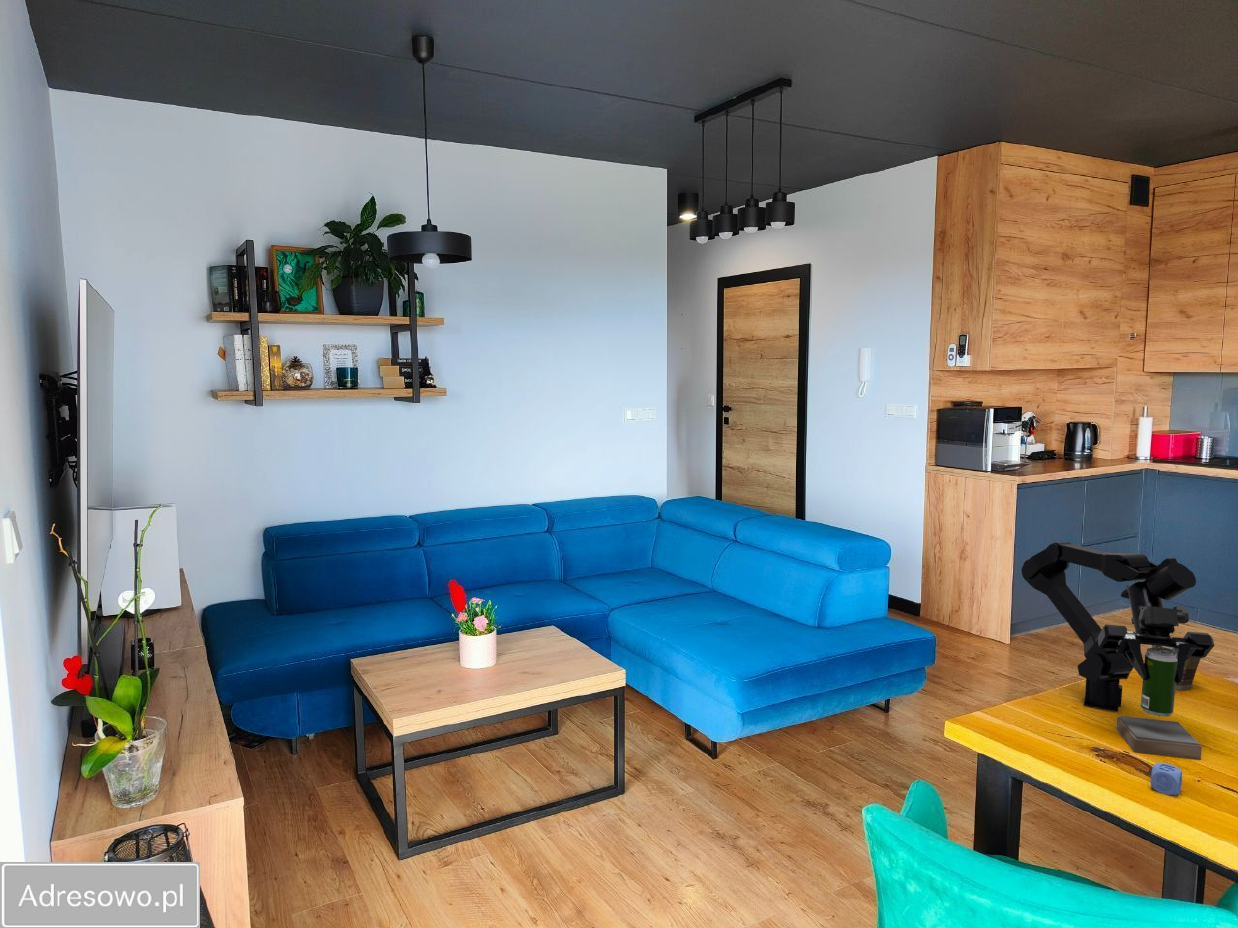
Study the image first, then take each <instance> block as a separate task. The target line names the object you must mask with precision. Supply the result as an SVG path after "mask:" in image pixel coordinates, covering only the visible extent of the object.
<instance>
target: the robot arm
mask: <svg viewBox="0 0 1238 928" xmlns="http://www.w3.org/2000/svg"><path fill="white" fill-rule="evenodd" d="M1070 564H1075V565H1077V566H1082V567H1086V568H1089V569H1093V570H1097V571H1099V572H1101V573H1102V574H1103V575H1104V577H1106V578H1108V579H1111V580H1113V581H1114V582H1117V583H1125V582H1128V583H1129V582H1134V583H1132V584H1131V585H1126V588H1125V589H1123V590H1122V591H1121V593H1120V597H1121V598H1124V599H1128V600H1129V604H1130V609H1131V610H1130V611H1131V615H1132V618H1131V624H1132V625H1134V631H1128V628H1127V627H1126V626H1125V625H1119V624H1117V625H1116V624H1107V623H1106V624H1105V625H1103V626H1102V628H1101V626H1100V625H1099V624H1098V622H1097V621H1096V620H1095V619H1094V618H1093V616H1092V615H1091V614H1090V613H1089V611H1088V610H1087V609H1086V607H1085V606H1084V605H1083V604H1082V602H1081V601H1080V600H1079V599H1078V597H1077V595H1076V594H1074V592H1073V591H1072V589H1070V587H1069V586H1068V585H1067V575H1066V571H1067V569H1069V567H1070ZM1021 576H1022V578H1023V579H1024V581H1025V582H1027V584H1028V585H1029V586H1030V587H1031V588H1032V589H1034V590H1036V591H1038V592H1039V593H1041V594H1043V595H1045V596H1046V597H1047V598H1048V599H1049V600H1050V602H1051V604H1053V605H1054V607H1055V608H1056V610H1057V611H1058V613H1059V614H1060V615H1061V616H1062V617H1063V619H1064V620H1065V622H1066V623H1067V624H1068V625H1069V627H1070V628H1071V630H1072V631H1073V632H1074V634H1076V636H1077V637H1078V638H1079V640H1080V641H1081V643H1083V656H1084V658H1085V659H1084V660H1082V662H1080V663H1079V664H1078V665H1077V671H1078V672H1077V673H1078V675H1079V676H1080V677H1083V678H1085V687H1084V688H1085V690H1084V698H1083V706H1085V707H1089V708H1096V709H1100V710H1106V711H1112V712H1119V708H1121V707H1122V697H1123V685H1122V684H1120V682H1121V681H1120V680H1128V678H1129V677H1130V673H1132V671H1133V669H1134V670H1135V671H1136V673H1137V674H1138V675H1139V676H1140V678H1141V679H1142V681H1143V680H1146V679H1147V674H1146V668H1145V665H1144V661H1145V660H1144V657H1143V655H1142V649H1141V648H1142V647H1141V645H1148V646H1152V645H1155V646H1166V647H1172V648H1173V652H1175V653H1176V654H1177V658H1178V666H1177V677H1176V682H1177V684H1180V682H1181V679H1182V674H1183V669H1184V665H1185V661H1186V660H1188V659H1189V658H1190V657H1193V658H1201V659H1203V658H1204V659H1205V658H1206V657H1207V656H1208V654H1209V653H1210V652H1211V651H1212V650H1213V648H1214V647H1215V642H1214V638H1213V637H1212V636H1211V635H1210V634H1209V633H1208V632H1207V633H1206V632H1197V631H1196V632H1195V631H1187V632H1186V633H1185V635H1184V637H1176V636H1175V637H1174V636H1171V634H1174V632H1175V631H1176V629H1175V627H1179V625H1180V624H1182V625H1184V624H1188V622H1189V621H1190V619H1189V617H1190V616H1189V612H1188V607H1187V606H1184V605H1175V606H1173V608H1169V607H1168V608H1167V607H1165V606H1164V605H1165V604H1164V600H1165V601H1171V600H1173V599H1175V598H1177V597H1179V596H1181V595H1182V594H1184V593H1185V592H1188V591H1189V590H1191V589H1192V588H1194V587H1195V586H1196V584H1197V579H1196V576H1195V573H1193V571H1191V570H1190V569H1189V568H1188V567H1187V566H1185V565H1184V564H1182V563H1180V562H1178V561H1177V559H1176V558H1175V557H1167V558H1165V559H1163V560H1162V561H1161V562H1160V563H1159V564H1156V563H1155V562H1152V561H1150V560H1149V559H1148V556H1146V555H1145V554H1142V553H1134V552H1133V553H1132V552H1131V553H1128V552H1126V553H1125V552H1117V553H1116V552H1115V553H1114V552H1113V553H1112V552H1108V551H1104V550H1100V549H1096V548H1091V547H1088V546H1087V547H1086V546H1083V545H1078V544H1074V543H1071V542H1069V541H1064V542H1062V541H1059V542H1052V543H1051V544H1049V545H1048V546H1047V547H1046V548H1045V549H1043V550H1041V551H1040V552H1038V553H1036V554H1034V555H1032V556H1031V557H1030V558H1029V559H1026V560H1025V561H1024V562H1023V565H1022V567H1021Z"/></svg>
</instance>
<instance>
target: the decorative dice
mask: <svg viewBox="0 0 1238 928" xmlns="http://www.w3.org/2000/svg"><path fill="white" fill-rule="evenodd" d="M1151 769H1152V770H1151V774H1150V787H1151V788H1152V789H1153V790H1154V791H1155V792H1158V793H1159V794H1163V795H1168V796H1178V795H1180V794H1181V790H1182V786H1183V785H1182V784H1183V772H1182V770H1181V769H1180V768H1179V767H1177V766H1175V765H1173V764H1169V763H1165V762H1156V763H1154V764H1153V766H1152V768H1151Z"/></svg>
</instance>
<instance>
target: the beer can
mask: <svg viewBox="0 0 1238 928" xmlns="http://www.w3.org/2000/svg"><path fill="white" fill-rule="evenodd" d="M1143 661H1144V665H1145V668H1146V674H1147V679H1146V680H1143V679H1142V686H1141V699H1140V707H1141V710H1142V711H1143V712H1144V713H1146V714H1149V715H1152V716H1157V717H1164V718H1166V717H1171V716H1172V714H1173V713H1174V708H1175V697H1176V690H1175V688H1176V677H1177V666H1178V658H1177V654H1176V653H1175V652H1173V651H1170V650H1166V649H1161V648H1152V647H1148V648H1146V652H1145V653H1144V660H1143Z"/></svg>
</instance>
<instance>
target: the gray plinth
mask: <svg viewBox="0 0 1238 928" xmlns="http://www.w3.org/2000/svg"><path fill="white" fill-rule="evenodd" d="M1115 730H1116V731H1117V732H1118V733H1119V735H1120V736H1121V737H1122V738H1123V740H1124V741H1125V742H1126V744H1127V745H1128V746H1129V748H1130V749H1132V751H1133V752H1134V753H1137V754H1144V755H1145V754H1146V755H1153V756H1164V757H1170V758H1171V757H1173V758H1181V759H1190V760H1198V761H1201V760H1202V752H1203V746H1202V745H1201V743H1199V742H1198V741H1197V740H1196V738H1195V737H1194V736H1193V735H1192V734H1191V733H1190V732H1189V731H1188V730H1187V729H1186V728H1185V727H1184V726H1183V725H1182V724H1181V723H1180V722H1179V721H1174V720H1173V721H1172V720H1162V719H1156V718H1155V719H1154V718H1144V717H1136V716H1135V717H1134V716H1126V715H1125V716H1123V715H1119V716H1116V727H1115Z"/></svg>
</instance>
